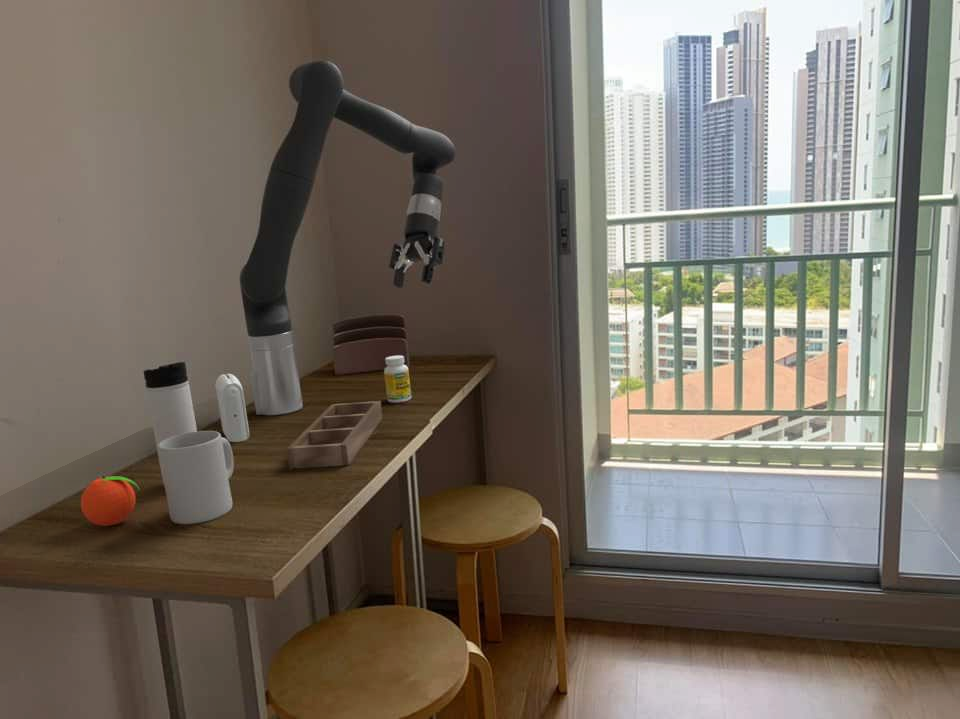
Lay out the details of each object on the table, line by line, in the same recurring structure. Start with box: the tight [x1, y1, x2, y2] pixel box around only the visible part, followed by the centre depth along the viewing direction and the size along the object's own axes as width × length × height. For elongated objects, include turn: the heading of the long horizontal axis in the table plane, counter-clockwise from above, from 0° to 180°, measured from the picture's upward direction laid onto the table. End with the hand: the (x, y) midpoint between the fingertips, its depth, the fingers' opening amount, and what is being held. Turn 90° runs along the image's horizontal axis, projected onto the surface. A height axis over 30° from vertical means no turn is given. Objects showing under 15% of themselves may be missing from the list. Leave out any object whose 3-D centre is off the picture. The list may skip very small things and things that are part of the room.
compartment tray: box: [286, 400, 383, 470], centre depth 135 cm, size 10×28×4 cm, turn 176°
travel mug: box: [143, 361, 198, 488], centre depth 117 cm, size 6×7×20 cm
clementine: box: [80, 475, 141, 527], centre depth 104 cm, size 8×7×7 cm
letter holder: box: [331, 313, 411, 376], centre depth 199 cm, size 10×20×14 cm, turn 96°
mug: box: [157, 430, 235, 525], centre depth 107 cm, size 12×8×11 cm
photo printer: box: [215, 373, 250, 443], centre depth 144 cm, size 10×4×12 cm, turn 27°
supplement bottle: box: [383, 356, 412, 404], centre depth 161 cm, size 5×5×10 cm
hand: (411, 284), depth 165 cm, fingers open, 8 cm apart
